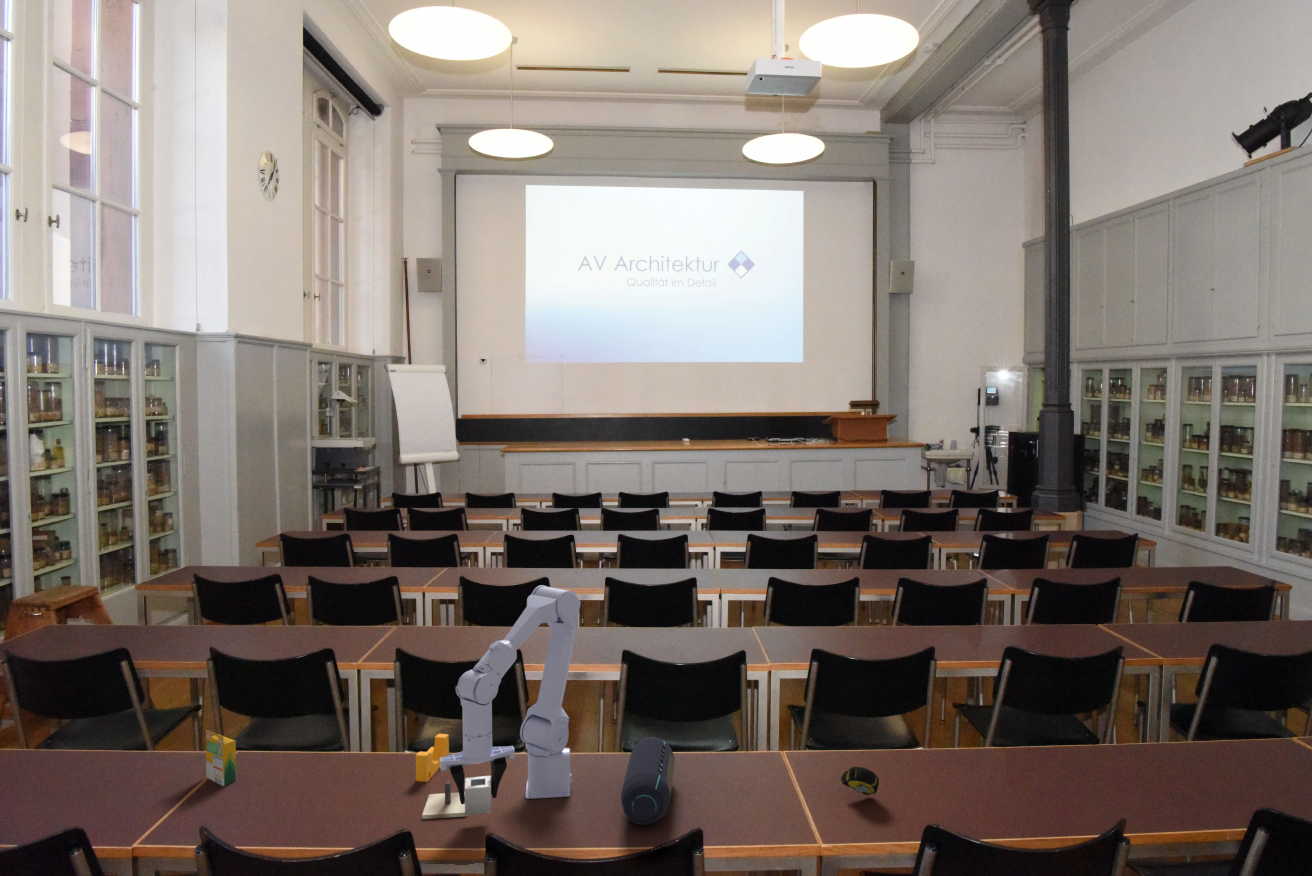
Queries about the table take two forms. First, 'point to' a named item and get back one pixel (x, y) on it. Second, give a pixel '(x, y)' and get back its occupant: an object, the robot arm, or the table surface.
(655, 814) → the portable speaker
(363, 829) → the table surface
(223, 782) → the crayon box
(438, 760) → the pipe clamp
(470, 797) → the grey hollow cube
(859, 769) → the tape measure
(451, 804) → the cream tile with peg
